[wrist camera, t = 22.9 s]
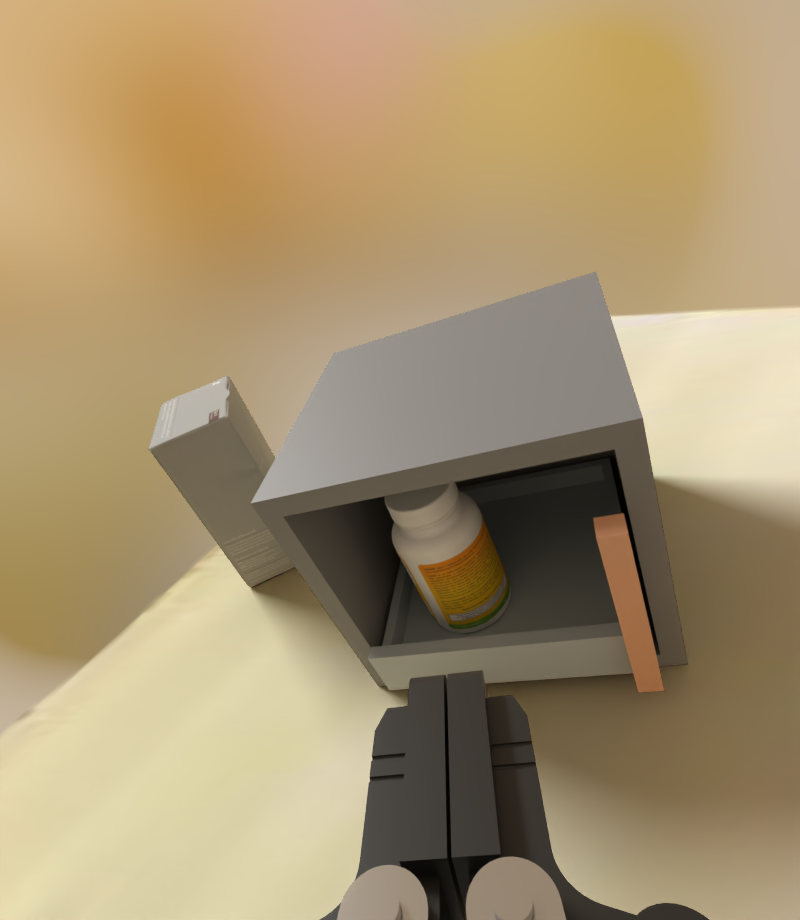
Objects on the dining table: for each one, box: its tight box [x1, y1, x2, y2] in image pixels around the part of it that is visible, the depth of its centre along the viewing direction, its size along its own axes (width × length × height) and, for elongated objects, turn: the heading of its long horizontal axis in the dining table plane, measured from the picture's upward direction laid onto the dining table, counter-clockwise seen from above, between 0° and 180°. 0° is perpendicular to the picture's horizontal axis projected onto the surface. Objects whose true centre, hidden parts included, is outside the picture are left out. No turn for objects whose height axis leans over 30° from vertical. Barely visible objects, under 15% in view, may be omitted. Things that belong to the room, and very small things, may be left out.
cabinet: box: [251, 272, 688, 686], centre depth 35 cm, size 18×16×16 cm
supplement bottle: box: [384, 482, 511, 633], centre depth 33 cm, size 5×5×10 cm
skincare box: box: [149, 376, 295, 587], centre depth 48 cm, size 8×7×16 cm
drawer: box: [368, 458, 664, 692], centre depth 34 cm, size 15×16×11 cm
